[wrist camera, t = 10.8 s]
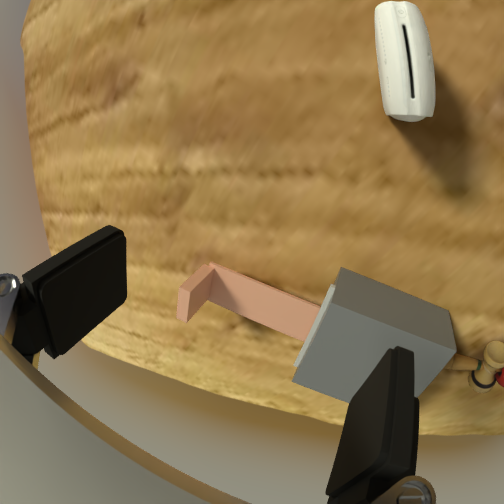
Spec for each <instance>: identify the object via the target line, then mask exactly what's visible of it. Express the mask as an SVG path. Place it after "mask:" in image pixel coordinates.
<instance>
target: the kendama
mask: <svg viewBox="0 0 504 504" xmlns="http://www.w3.org/2000/svg"><path fill="white" fill-rule="evenodd" d="M444 369H452V370H471V372H470V373H469V376H468V382H469V385H470V386H471V388H472V389H473V390H474V391H476V392H479V393H486V392H488V391H489V390H491V388H492V387H493V386H494V384H495V382H496V380H497V382H498V383H499V384H500V385H501V386H502V387H504V343H502V342H500V341H491V342H489V343H488V344H487V346H486V347H485V349H484V361H480V360H477V359H474V358H471V357H468V356H465V355H461V354H456V353H455V354H454V355H453V357H452V358H451V359H450V360H449V362H448V363H447V364H446V365H445V366H444Z"/></svg>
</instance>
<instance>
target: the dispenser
mask: <svg viewBox="0 0 504 504" xmlns="http://www.w3.org/2000/svg"><path fill="white" fill-rule="evenodd" d="M396 346H400V347H403V348H405V349H408V350H411V351H413V352H414V371H415V386H414V397H416V398H417V397H418V396H419V395H420V394H421V393H422V392H423V391H424V390H425V388H426V387H427V386H428V385H429V384H430V383H431V382H432V381H433V379H434V378H435V377H436V376H437V375H438V374H439V372H440V371H441V370H442V369H443V368H444V366H445V365H446V364H447V363H448V362H449V360H450V359H451V358H452V357H453V355H454V354H455V353H456V351H457V350H456V344H455V339H454V334H453V329H452V324H451V320H450V315H449V311H448V310H446V309H443V308H441V307H438V306H436V305H434V304H431V303H429V302H426V301H424V300H422V299H419V298H417V297H414V296H412V295H409V294H407V293H404V292H402V291H400V290H397V289H395V288H392V287H390V286H387V285H385V284H382V283H380V282H377V281H375V280H372V279H370V278H367V277H365V276H362V275H360V274H357V273H355V272H352V271H350V270H347V269H345V268H342V267H341V269H340V271H339V273H338V276H337V278H336V280H335V283H334V285H333V284H331V285H330V287H329V290H328V292H327V294H326V296H325V299H324V301H323V303H322V306H321V308H320V310H319V312H318V314H317V317H316V319H315V321H314V323H313V325H312V327H311V330H310V332H309V334H308V336H307V338H306V340H305V342H304V344H303V346H302V349H301V351H300V353H299V355H298V357H297V359H296V361H295V363H294V365H293V366H296V367H297V370H296V372H295V375H294V377H293V380H292V382H294V383H297V384H299V385H302V386H304V387H307V388H310V389H312V390H315V391H317V392H320V393H323V394H325V395H328V396H331V397H334V398H336V399H339V400H342V401H345V402H348V403H350V401H351V399H352V397H353V396H354V395H355V393H356V392H357V391H358V390H359V388H360V387H361V386H362V384H363V383H364V382H365V380H366V379H367V378H368V376H369V375H370V374H371V372H372V371H373V370H374V368H375V367H376V365H377V364H378V363H379V361H380V360H381V358H382V357H383V356H384V354H385V353H386V351H387V350H388V349H389V348H391V349H394V348H395V347H396Z"/></svg>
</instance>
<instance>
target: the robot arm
mask: <svg viewBox="0 0 504 504" xmlns="http://www.w3.org/2000/svg"><path fill="white" fill-rule="evenodd" d="M22 277H23V281H24V282H23V283H22V284H20V281H19V279H18V277H17V276H15V275H13V274H8V273H6V274H0V504H250V503H248V502H246V501H243V500H241V499H238V498H236V497H233V496H231V495H229V494H227V493H224V492H222V491H219V490H218V489H215V488H213V487H211V486H209V485H207V484H204V483H203V482H201V481H198V480H196V479H194V478H192V477H190V476H189V475H187V474H185V473H183V472H181V471H179V470H177V469H175V468H173V467H172V466H170V465H168V464H166V463H164V462H163V461H161V460H159V459H157V458H156V457H154V456H152V455H151V454H149V453H147V452H146V451H144V450H142V449H141V448H139V447H137V446H136V445H134V444H133V443H131V442H130V441H128V440H127V439H125V438H124V437H122V436H121V435H119V434H118V433H116V432H115V431H113V430H112V429H110V428H109V427H107V426H106V425H105V424H103V423H102V422H100V421H99V420H98V419H96V418H95V417H93V416H92V415H90V413H88V412H87V411H86V410H84V409H83V408H82V407H80V406H79V405H78V404H77V403H75V402H74V401H73V400H72V399H70V398H69V397H68V396H67V395H65V394H64V393H63V392H62V391H61V390H59V389H58V388H57V387H56V386H55V385H53V383H51V382H50V381H49V380H48V379H47V378H46V377H45V376H44V375H42V374H41V373H40V372H39V371H38V370H37V369H38V362H39V356H40V351H41V350H42V349H43V348H44V350H45V352H46V353H47V354H48V355H50V356H51V357H52V358H53V359H55V358H56V357H58V356H59V355H63V354H65V353H66V352H67V351H68V350H69V349H71V348H72V347H73V346H74V345H75V344H76V343H77V342H78V341H80V340H81V339H82V338H83V337H84V336H86V335H87V334H88V333H89V332H90V331H91V330H92V329H94V328H95V327H96V326H97V325H98V324H99V323H101V322H102V321H103V320H104V319H105V318H106V317H108V316H109V315H110V314H111V313H112V312H114V311H115V310H116V309H117V308H118V307H119V306H121V305H122V304H123V303H124V302H125V300H126V298H127V273H126V237H125V236H124V232H123V231H122V230H120V229H118V228H116V227H113V226H111V225H108V226H105V227H103V228H102V229H100V230H98V231H96V232H94V233H92V234H91V235H89V236H87V237H85V238H84V239H82V240H80V241H78V242H76V243H75V244H73V245H71V246H70V247H68V248H66V249H64V250H63V251H61V252H59V253H58V254H56V255H54V256H53V257H51V258H49V259H48V260H46V261H44V262H43V263H41V264H39V265H38V266H36V267H35V268H33V269H31V270H30V271H28V272H26V273H25V274H23V275H22ZM414 386H415V371H414V352H413V351H411V350H408V349H405V348H403V347H400V346H396V347H395V348H394V349H391V348H389V349H388V350H387V351H386V353H385V354H384V356H383V357H382V358H381V360H380V361H379V363H378V364H377V365H376V367H375V368H374V370H373V371H372V372H371V374H370V375H369V376H368V378H367V379H366V380H365V382H364V383H363V384H362V386H361V387H360V388H359V390H358V391H357V392H356V393H355V395H354V396H353V397H352V399H351V401H350V403H349V406H348V410H347V414H346V418H345V423H344V427H343V431H342V435H341V439H340V443H339V447H338V450H337V454H336V458H335V461H334V465H333V468H332V472H331V475H330V478H329V482H328V485H327V488H326V495H329V499H328V502H327V504H436V494H435V491H434V488H433V487H432V485H431V484H430V483H429V482H428V481H427V480H426V479H424V478H422V477H420V476H415V471H416V461H417V449H418V433H419V400H418V398H416V397H414Z"/></svg>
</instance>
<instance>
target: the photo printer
mask: <svg viewBox="0 0 504 504" xmlns="http://www.w3.org/2000/svg"><path fill="white" fill-rule="evenodd" d="M375 40H376V51H377V61H378V70H379V78H380V86H381V93H382V101H383V106H384V111H385V114H386V115H390V116H392V117H393V118H395V119H397V120H402V121H408V122H416V121H420V120H422V119H424V118H425V117H432V116H433V113H434V107H435V74H434V64H433V56H432V50H431V44H430V39H429V35H428V31H427V27H426V25H425V21H424V19H423V16H422V14H421V12H420V10H419V9H418V7H417V6H416V5H414V4H412V3H410V2H406V1H403V2H394V1H388V2H384V3H381V4H379V5H378V6H377V7H376V8H375Z"/></svg>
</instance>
